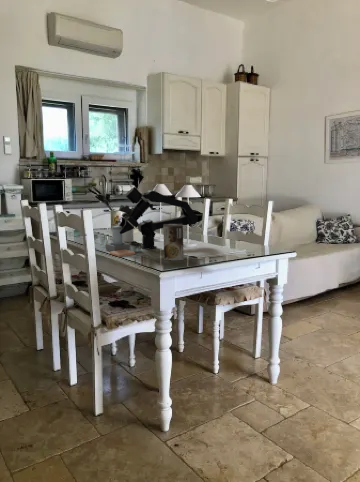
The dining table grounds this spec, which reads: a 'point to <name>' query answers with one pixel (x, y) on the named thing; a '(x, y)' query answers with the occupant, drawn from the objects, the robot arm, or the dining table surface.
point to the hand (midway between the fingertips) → (118, 232)
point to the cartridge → (117, 235)
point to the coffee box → (173, 241)
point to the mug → (127, 235)
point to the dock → (119, 249)
